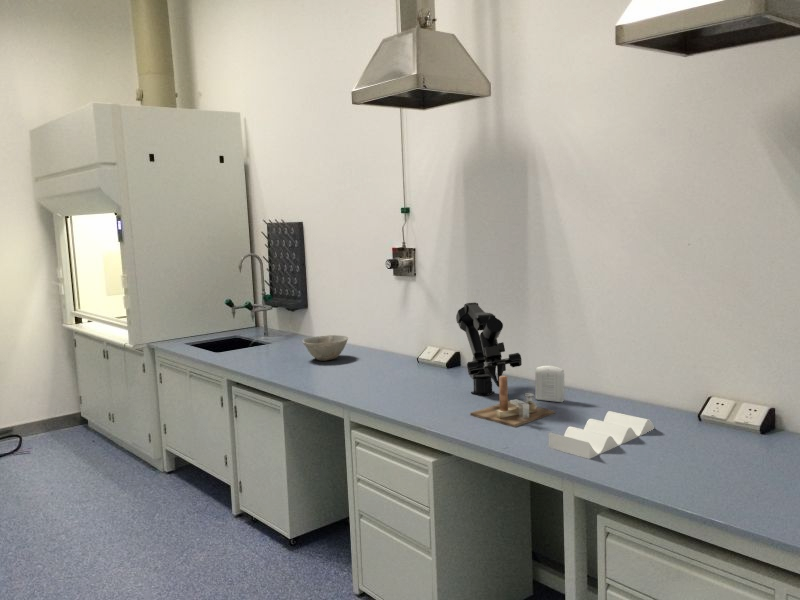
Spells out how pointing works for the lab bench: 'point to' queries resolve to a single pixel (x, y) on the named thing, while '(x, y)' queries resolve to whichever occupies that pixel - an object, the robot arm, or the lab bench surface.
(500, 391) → the ash crank
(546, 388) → the white arched upright block
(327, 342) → the ceramic bowl
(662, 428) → the lab bench surface
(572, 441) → the white wavy rack
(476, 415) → the walnut board
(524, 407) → the pintle and keeper
